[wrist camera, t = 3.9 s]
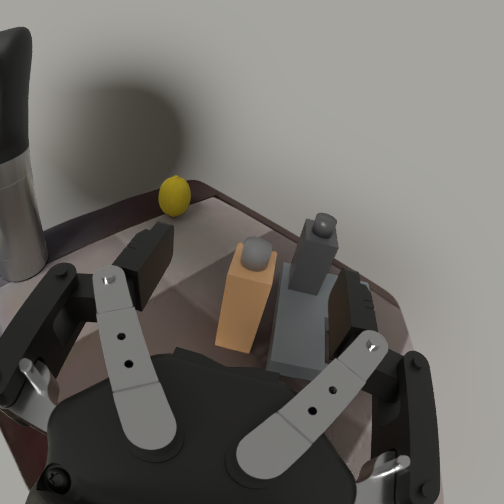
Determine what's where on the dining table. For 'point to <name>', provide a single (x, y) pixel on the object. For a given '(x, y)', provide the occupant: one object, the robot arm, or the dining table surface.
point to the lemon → (174, 196)
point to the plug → (245, 294)
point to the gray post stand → (304, 303)
